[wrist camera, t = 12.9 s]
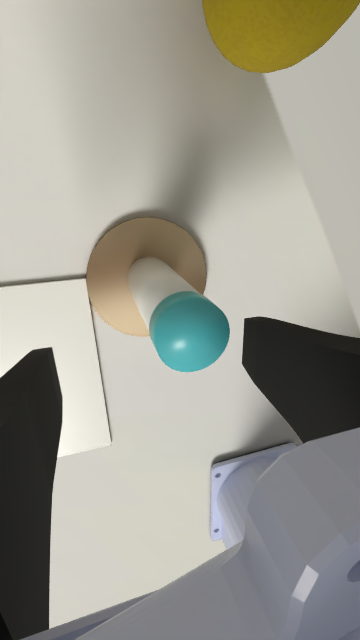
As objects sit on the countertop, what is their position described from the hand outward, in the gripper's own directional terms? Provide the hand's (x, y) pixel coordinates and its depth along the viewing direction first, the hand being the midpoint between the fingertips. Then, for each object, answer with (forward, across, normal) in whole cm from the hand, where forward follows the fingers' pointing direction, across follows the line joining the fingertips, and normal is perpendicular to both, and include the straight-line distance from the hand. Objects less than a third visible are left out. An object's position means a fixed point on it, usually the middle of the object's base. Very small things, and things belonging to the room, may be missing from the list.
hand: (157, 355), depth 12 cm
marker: (+7, -1, -1) cm, 7 cm away
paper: (+8, +7, +5) cm, 11 cm away
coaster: (+8, -1, -1) cm, 8 cm away
